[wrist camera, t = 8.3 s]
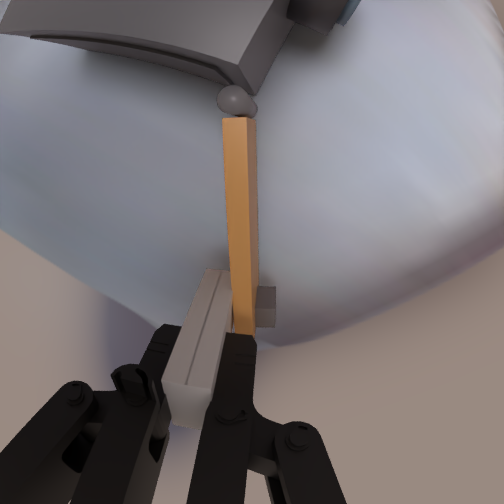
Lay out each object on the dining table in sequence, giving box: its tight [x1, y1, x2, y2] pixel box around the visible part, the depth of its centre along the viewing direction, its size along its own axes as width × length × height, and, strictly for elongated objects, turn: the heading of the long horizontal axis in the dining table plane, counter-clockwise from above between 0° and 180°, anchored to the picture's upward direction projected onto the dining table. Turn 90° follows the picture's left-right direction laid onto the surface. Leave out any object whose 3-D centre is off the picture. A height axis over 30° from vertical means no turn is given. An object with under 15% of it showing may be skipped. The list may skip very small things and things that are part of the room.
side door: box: [217, 85, 276, 339], centre depth 13 cm, size 11×2×5 cm, turn 2°
